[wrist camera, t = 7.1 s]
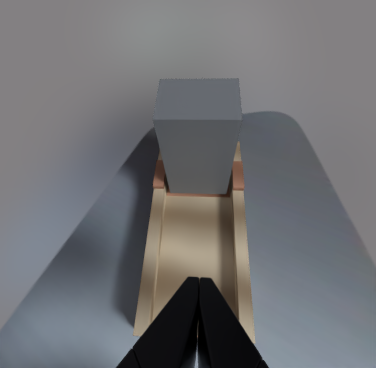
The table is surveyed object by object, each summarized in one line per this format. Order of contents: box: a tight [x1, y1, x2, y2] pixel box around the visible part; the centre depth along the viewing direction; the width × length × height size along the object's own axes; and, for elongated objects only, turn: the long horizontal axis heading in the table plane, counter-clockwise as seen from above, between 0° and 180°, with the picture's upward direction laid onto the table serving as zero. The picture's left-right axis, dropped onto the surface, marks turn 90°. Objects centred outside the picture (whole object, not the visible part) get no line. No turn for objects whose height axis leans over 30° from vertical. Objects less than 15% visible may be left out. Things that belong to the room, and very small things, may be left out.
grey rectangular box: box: [153, 78, 242, 194], centre depth 20 cm, size 4×6×10 cm
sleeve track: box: [133, 142, 255, 344], centre depth 20 cm, size 18×9×6 cm, turn 177°
